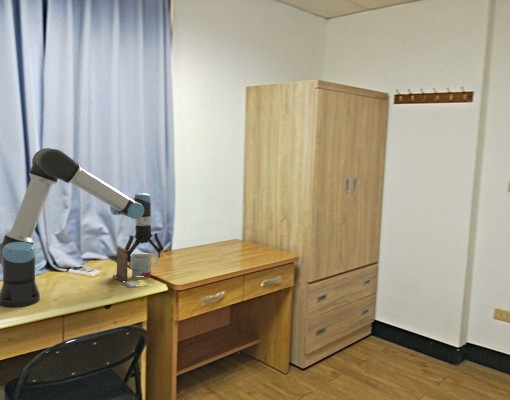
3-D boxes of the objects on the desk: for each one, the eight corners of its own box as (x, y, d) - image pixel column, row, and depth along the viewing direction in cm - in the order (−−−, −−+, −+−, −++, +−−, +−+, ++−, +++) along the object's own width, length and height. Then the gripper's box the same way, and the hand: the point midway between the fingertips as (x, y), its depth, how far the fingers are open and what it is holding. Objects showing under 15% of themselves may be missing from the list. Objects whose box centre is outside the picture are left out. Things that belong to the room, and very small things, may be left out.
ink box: (151, 275, 236) (151, 252, 235) (148, 278, 231) (148, 254, 230) (135, 274, 237) (135, 251, 236) (131, 276, 232) (131, 253, 231)
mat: (128, 288, 213) (128, 287, 213) (122, 282, 222) (122, 281, 222) (149, 285, 219) (149, 284, 219) (142, 280, 227) (142, 279, 227)
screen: (120, 282, 222) (121, 251, 221) (113, 276, 232) (113, 246, 231) (127, 281, 224) (127, 250, 222) (119, 275, 234) (120, 246, 232)
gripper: (120, 227, 222) (121, 271, 224) (169, 223, 235) (169, 264, 238) (116, 225, 228) (117, 267, 230) (163, 221, 241) (164, 261, 244)
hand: (143, 266), depth 234 cm, fingers open, 13 cm apart
